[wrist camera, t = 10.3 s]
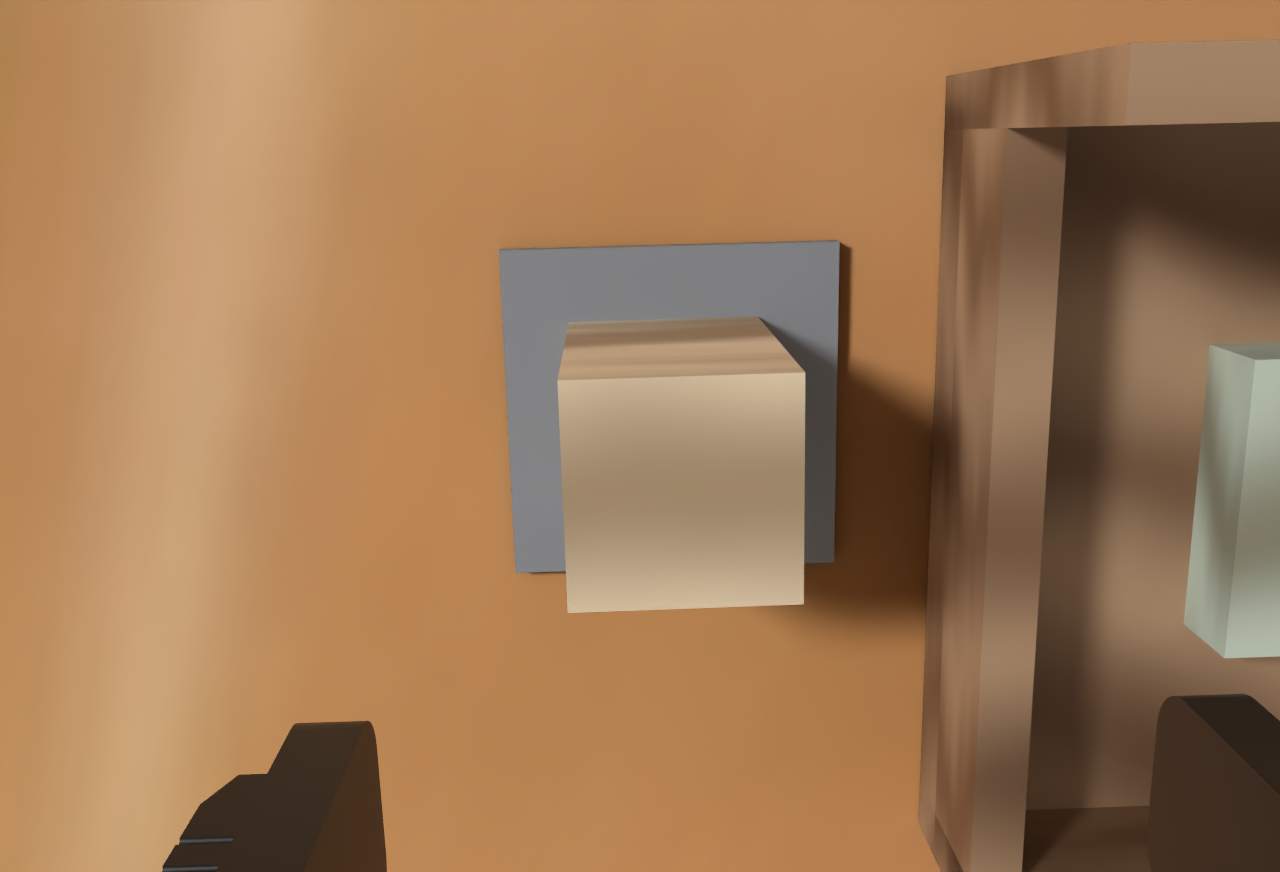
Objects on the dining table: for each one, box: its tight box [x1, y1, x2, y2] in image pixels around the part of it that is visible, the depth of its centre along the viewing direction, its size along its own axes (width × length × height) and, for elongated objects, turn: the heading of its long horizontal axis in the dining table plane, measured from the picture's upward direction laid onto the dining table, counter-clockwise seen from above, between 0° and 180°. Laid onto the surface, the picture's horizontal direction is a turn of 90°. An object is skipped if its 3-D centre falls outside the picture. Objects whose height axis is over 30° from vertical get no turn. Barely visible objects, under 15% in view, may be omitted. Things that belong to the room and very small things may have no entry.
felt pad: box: [499, 240, 840, 573], centre depth 29 cm, size 8×8×1 cm
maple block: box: [557, 316, 805, 613], centre depth 26 cm, size 4×4×7 cm
